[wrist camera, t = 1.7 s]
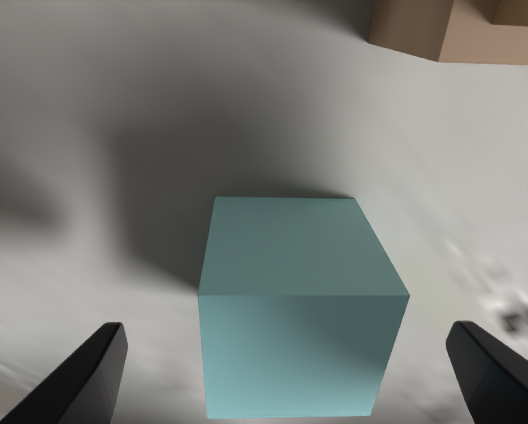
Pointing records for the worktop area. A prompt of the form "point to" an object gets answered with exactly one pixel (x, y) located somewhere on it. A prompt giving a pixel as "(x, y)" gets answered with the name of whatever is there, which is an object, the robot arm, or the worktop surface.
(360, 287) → the teal cube
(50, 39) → the worktop surface
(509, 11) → the tower top
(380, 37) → the tower base
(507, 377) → the robot arm
